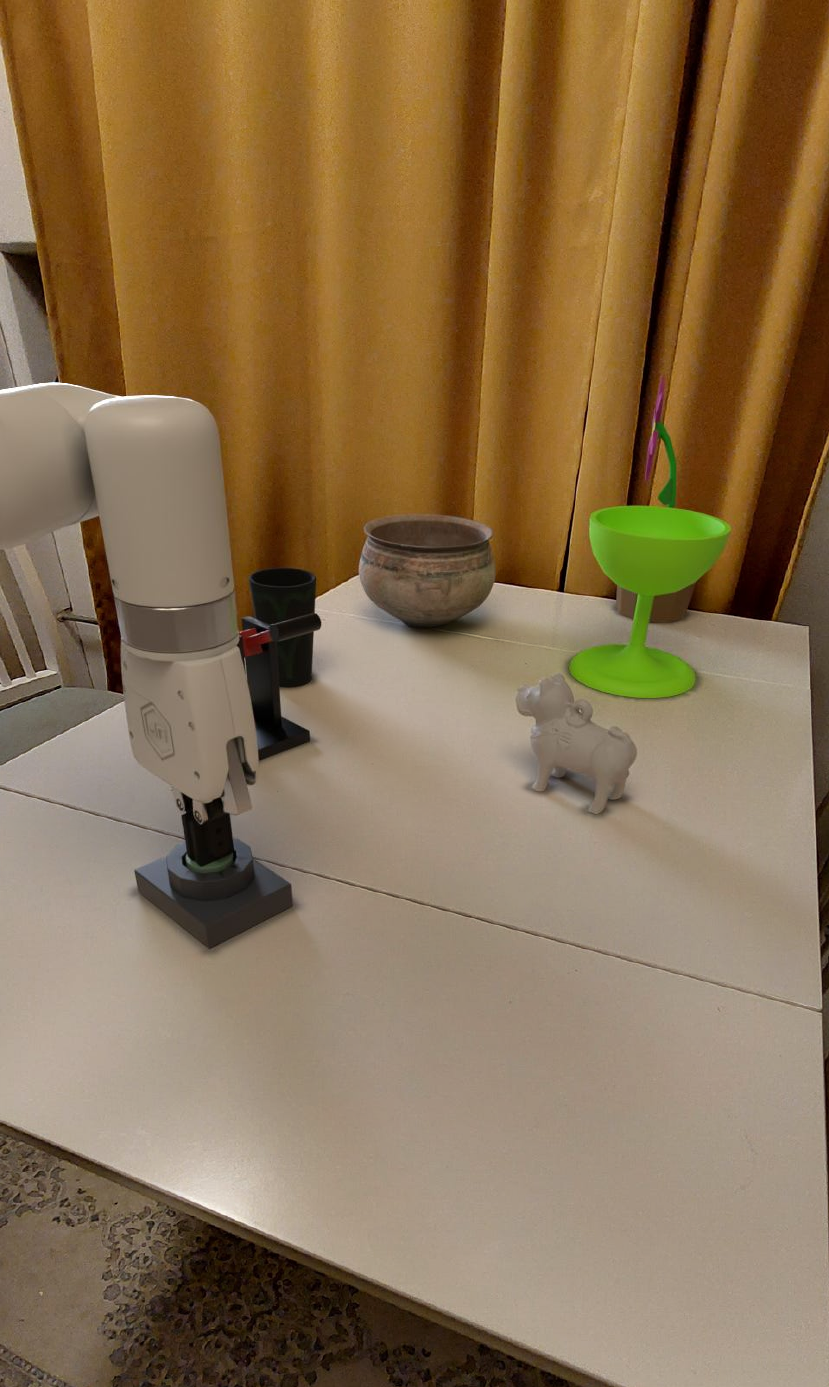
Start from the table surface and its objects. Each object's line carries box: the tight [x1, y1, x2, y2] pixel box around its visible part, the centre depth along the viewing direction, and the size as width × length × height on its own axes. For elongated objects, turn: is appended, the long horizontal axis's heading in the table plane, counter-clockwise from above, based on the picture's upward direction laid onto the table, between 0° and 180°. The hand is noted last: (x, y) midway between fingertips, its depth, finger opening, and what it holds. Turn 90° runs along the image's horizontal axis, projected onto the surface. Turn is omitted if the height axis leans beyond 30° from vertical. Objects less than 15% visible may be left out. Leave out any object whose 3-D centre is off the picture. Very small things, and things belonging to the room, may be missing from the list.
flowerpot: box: [615, 374, 698, 623], centre depth 122 cm, size 14×14×30 cm
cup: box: [248, 567, 317, 688], centre depth 103 cm, size 8×8×12 cm
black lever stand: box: [236, 616, 311, 761], centre depth 90 cm, size 10×8×12 cm
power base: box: [133, 837, 294, 949], centre depth 69 cm, size 10×8×4 cm
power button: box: [186, 853, 234, 873], centre depth 68 cm, size 4×4×2 cm
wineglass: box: [568, 505, 732, 699], centre depth 106 cm, size 16×16×18 cm
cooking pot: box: [358, 513, 497, 629], centre depth 122 cm, size 25×19×12 cm
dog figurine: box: [515, 672, 638, 815], centre depth 84 cm, size 5×13×11 cm, turn 51°
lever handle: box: [239, 612, 322, 658], centre depth 85 cm, size 12×5×2 cm, turn 45°
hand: (211, 855), depth 68 cm, fingers closed
